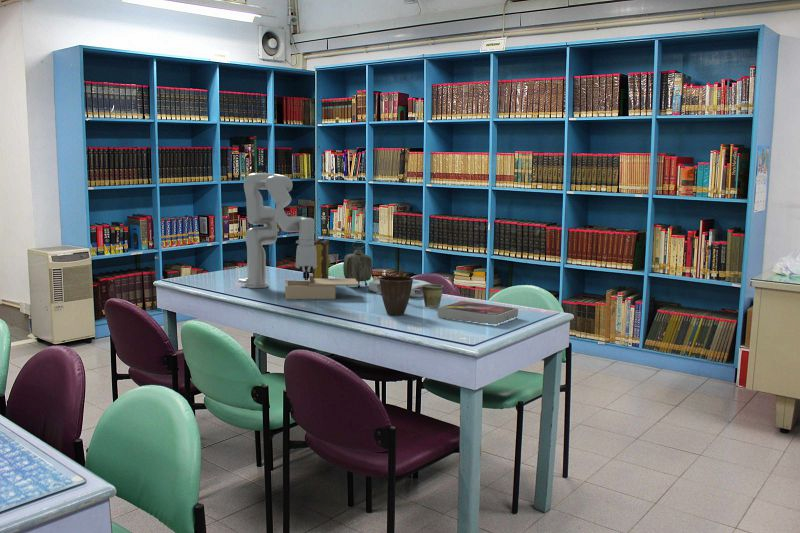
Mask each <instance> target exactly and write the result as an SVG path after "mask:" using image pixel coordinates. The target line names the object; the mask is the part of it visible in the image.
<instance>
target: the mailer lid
mask: <svg viewBox="0 0 800 533" xmlns="http://www.w3.org/2000/svg"><path fill="white" fill-rule="evenodd" d="M308 282H309V286H335V287H338V286H339V287H354V286H355V287H356V286H357V287H358V286H359V285H360V283H359V284H358V282H357V281H356V279H346V278H328V279H326V278H314V276H313V273H309V278H308Z"/></svg>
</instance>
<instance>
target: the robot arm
mask: <svg viewBox="0 0 800 533" xmlns="http://www.w3.org/2000/svg"><path fill="white" fill-rule="evenodd" d="M243 189H244V190H243V191H244V193H245V199H246V201H245V202H246V203H245V204H246V218H247V222H248V223H249V224H251V225H263V226H254V227H249V228H247V230H246V231H245V234H244V237H245V244H246V250H247V252H246V258H247V259H246V261H247V263H246V264H247V269H246V270H247V274H246V276H247V277H246V278H239V279H238V283H241V284H244V287H245V288H249V289H263V288H265V289H266V288H268V287H269V283H267V282H266V279H267V278H266V277H267V276H266V275H267V274H266V267H267V266H266V265H267V264H266V263H267V262H266V260H267V258H266V257H267V256H266V255H267V254H266V250H265V248H264V247H263V245H264V246H265V245H266V246H267V245H272V244H275V243H276V242H277V239H278V226H279V228H280V229H281V230H282V231H283V232H285V233H291V232H292V233H293V232H294V233H295V232H296V233H298V239H297V240H295V244H298V245H297V247H296V251H295V252H296V253H295V254H296V255H295V268H296V269H300V271H302V273H303V274H302V278H303V279H304V280H308V278H310V272H311V271H313V269H314V268H317V252H316V246H314V241H315V220H314V218H312V217H305V216H301V215H300V216H297V215H296V216H288V215H287V214H286V212H285V210H284V208H286V207H287V206H289V205H290V203H291V202H292V197H291V194H290V193H289V192H291V191H292V190H293V181H292V178H290V177H289V176H287V175H285V174H284V175H282V174H278V173H270V172H269V173H267V172H254V173H253V172H252V173H249V174H248V175H247V176H246V177H245V179H244V180H243ZM259 190H261V191H262V190H267V191H268V193H269V195H270V197H271V198H272V200H273V203H274V204H275V208H273V207H271V206H268V205H267V206H266V205H264V199H263V196H262V194H261V191H259ZM306 267H307V270H306V269H305V268H306Z"/></svg>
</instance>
